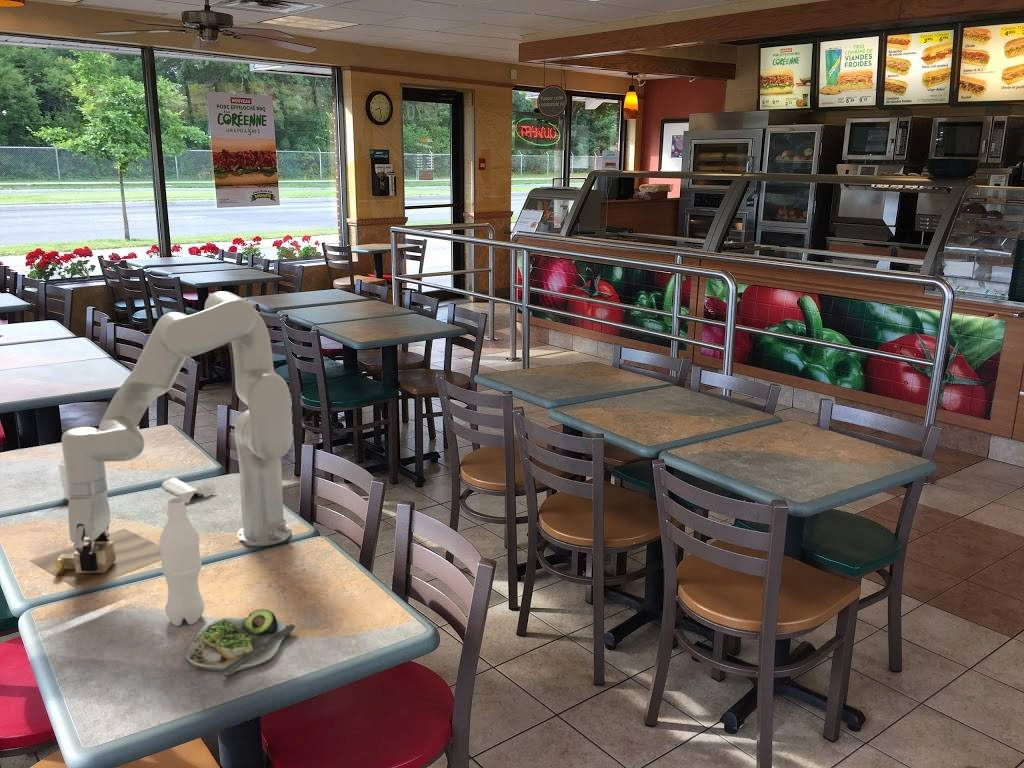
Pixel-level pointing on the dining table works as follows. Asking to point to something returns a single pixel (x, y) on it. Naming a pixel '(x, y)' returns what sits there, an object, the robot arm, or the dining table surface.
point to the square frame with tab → (103, 557)
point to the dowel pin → (59, 567)
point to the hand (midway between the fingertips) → (96, 562)
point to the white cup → (63, 478)
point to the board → (129, 557)
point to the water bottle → (181, 565)
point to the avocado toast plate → (239, 641)
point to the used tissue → (187, 489)
